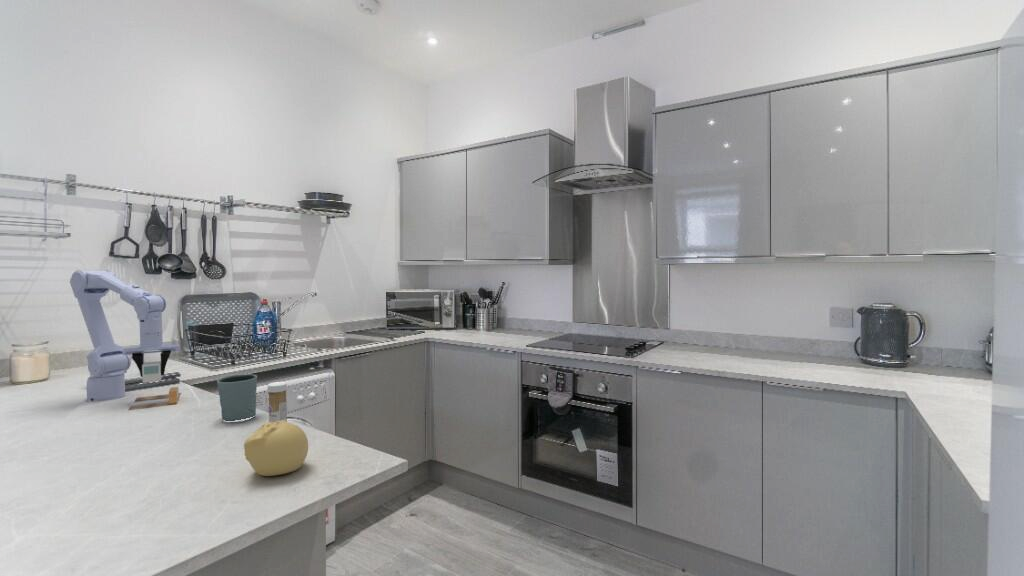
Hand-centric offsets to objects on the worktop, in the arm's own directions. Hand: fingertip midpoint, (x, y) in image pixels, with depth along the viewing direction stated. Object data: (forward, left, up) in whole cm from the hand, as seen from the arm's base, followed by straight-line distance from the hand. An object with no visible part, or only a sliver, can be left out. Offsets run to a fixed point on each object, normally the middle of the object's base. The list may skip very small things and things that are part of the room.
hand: (152, 375), depth 152 cm
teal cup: (+23, -29, -10) cm, 39 cm away
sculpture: (+30, -75, -10) cm, 82 cm away
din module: (0, 0, -1) cm, 1 cm away
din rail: (+1, -5, -8) cm, 10 cm away
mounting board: (+1, -1, -10) cm, 10 cm away
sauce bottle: (-7, +60, -10) cm, 61 cm away
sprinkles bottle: (+32, -49, -10) cm, 60 cm away
